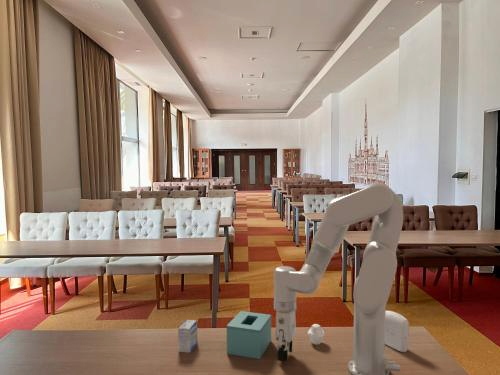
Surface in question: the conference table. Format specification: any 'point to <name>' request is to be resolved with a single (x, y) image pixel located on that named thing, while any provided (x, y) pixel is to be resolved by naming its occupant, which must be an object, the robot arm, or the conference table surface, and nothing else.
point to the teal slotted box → (249, 334)
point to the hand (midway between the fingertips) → (285, 355)
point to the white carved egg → (316, 334)
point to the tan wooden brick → (287, 348)
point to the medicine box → (187, 336)
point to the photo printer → (396, 331)
